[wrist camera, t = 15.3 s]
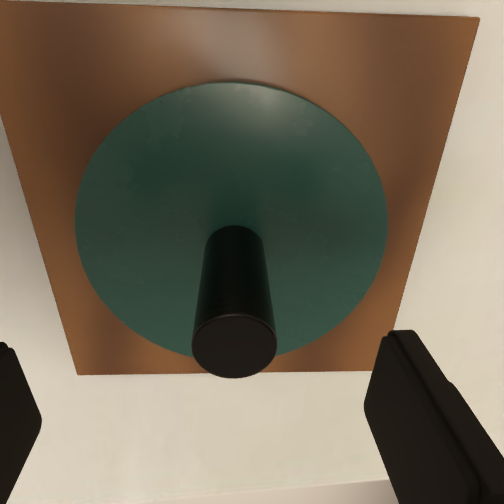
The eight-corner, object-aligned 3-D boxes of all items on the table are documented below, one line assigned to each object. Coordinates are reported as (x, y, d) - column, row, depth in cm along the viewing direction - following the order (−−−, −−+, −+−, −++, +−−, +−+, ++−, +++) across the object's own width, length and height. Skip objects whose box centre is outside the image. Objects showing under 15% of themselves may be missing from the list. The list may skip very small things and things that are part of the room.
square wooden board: (83, 362, 22) (76, 375, 21) (-18, 2, 13) (-35, -2, 12) (376, 358, 23) (381, 371, 22) (466, 18, 14) (482, 16, 13)
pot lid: (110, 347, 20) (55, 483, 14) (51, 74, 13) (-109, 97, 7) (353, 345, 21) (404, 473, 15) (410, 83, 14) (550, 112, 8)
